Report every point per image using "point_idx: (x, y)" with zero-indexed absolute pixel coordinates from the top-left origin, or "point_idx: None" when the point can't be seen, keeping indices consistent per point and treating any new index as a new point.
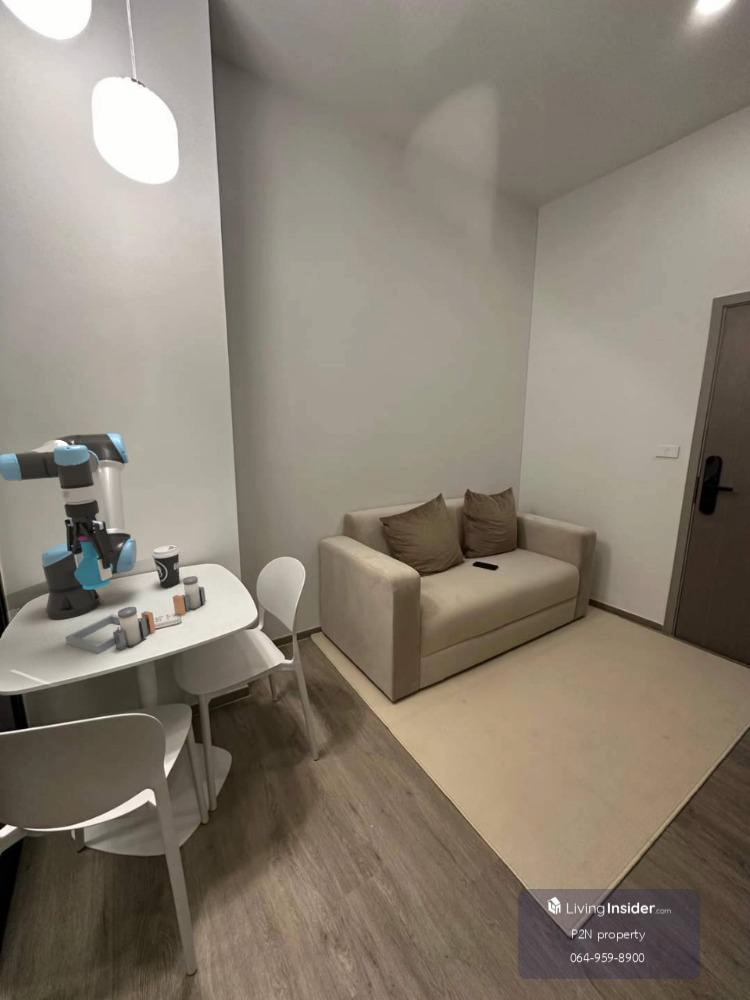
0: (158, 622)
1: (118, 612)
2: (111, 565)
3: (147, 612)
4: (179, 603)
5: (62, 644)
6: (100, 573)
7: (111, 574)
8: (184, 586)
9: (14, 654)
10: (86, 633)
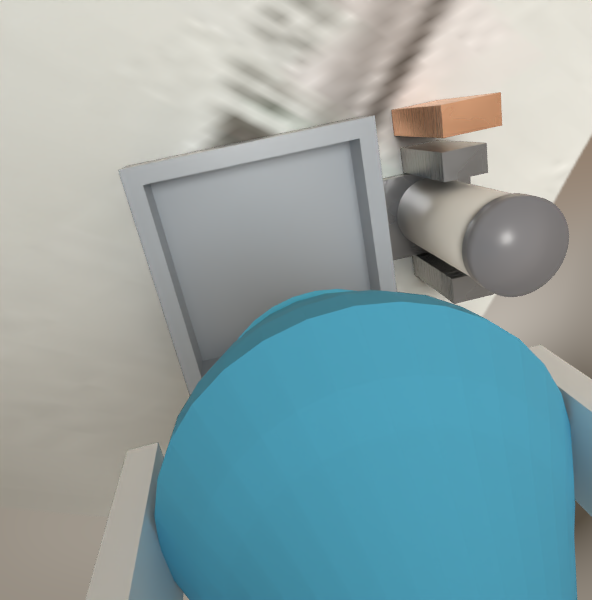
0: (345, 21)
1: (494, 288)
2: (499, 339)
3: (467, 108)
4: None
5: (155, 380)
6: (576, 489)
7: (563, 362)
8: None
9: (81, 500)
10: (185, 309)
